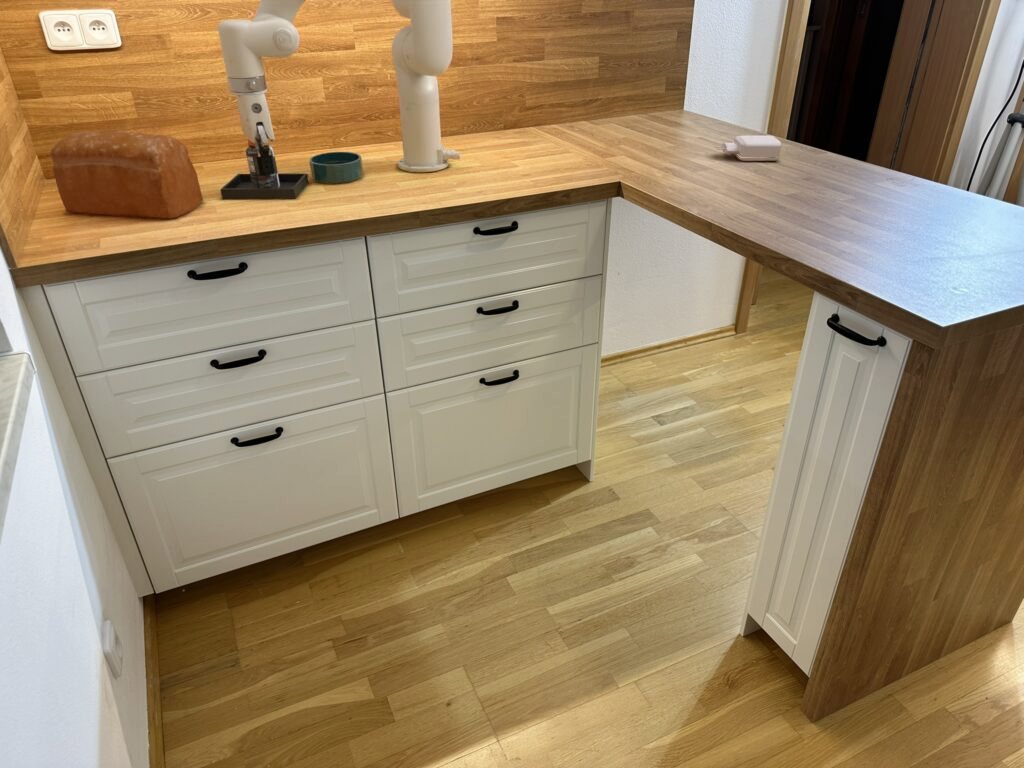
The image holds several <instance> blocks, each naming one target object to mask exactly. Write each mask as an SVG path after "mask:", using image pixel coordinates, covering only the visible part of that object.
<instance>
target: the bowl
mask: <svg viewBox="0 0 1024 768" xmlns="http://www.w3.org/2000/svg"><path fill="white" fill-rule="evenodd" d="M308 161H309V168H310V175H311V179H312V180H314V181H315V182H318V183H323V184H331V185H332V184H333V185H335V184H346V183H351V182H353V181H354V182H355V181H356V180H359V179H360V178H362V177H364V168H363V158H362V155H361V154H359V153H357V152H351V151H329V152H323V153H319V154H315V155H313V156H311V157H310V158H309V159H308Z"/></svg>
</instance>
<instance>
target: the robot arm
mask: <svg viewBox="0 0 1024 768" xmlns="http://www.w3.org/2000/svg"><path fill="white" fill-rule="evenodd" d="M306 1H307V0H260V2H259V5H258V7H257V9H256V11H255V14H254V15H253V19H252V20H250V19H246V18H245V19H243V18H236V19H235V18H233V19H225V20H222V21H220V22H219V23H218V26H217V30H218V38H219V42H220V48H221V52H222V57H223V62H224V67H225V72H226V73H225V74H226V77H227V83H228V87H229V93H230V94H231V95H232V96H233V95H234V96H235V99H236V104H237V109H238V115H239V116H238V117H239V121H240V125H241V130H242V133H243V136H244V137H245V138H246V139H247V140H248V139H249V140H250V141H251V142H252V143H254V144H255V148H256V152H257V156H258V157H256V158H257V164H258V169H259V174H260V175H261V176H262V175H269V174H274V173H275V172H274V166H273V160H272V155H271V151H270V147H269V146H270V143H269V141H270V142H274V141H275V133H274V129H273V128H274V127H273V124H272V123H273V122H272V119H271V113H270V109H269V106H268V102H267V97H266V94H265V93H267V92H268V85H267V79H266V75H265V68H264V62H263V58H274V59H275V58H276V59H284V58H289V57H291V56H293V55H294V54H295V53H296V52H297V51H298V49H299V47H300V44H301V39H300V38H301V37H300V34H299V32H298V29H297V27H296V26H295V25H294V24H293V22H294V20H295V18H296V16H297V14H298V12H299V10H300V9H301V8H302V6H303V5H304V3H305V2H306ZM451 2H452V1H451V0H392V5H393V8H394V10H395V11H396V12H397V14H399V15H400V16H401V17H404V18H406V19H409V20H410V25H406V26H404V27H402V28H400V29H399V30H398V31H397V32H396V33H395V35H394V36H393V39H392V44H391V57H392V62H393V63H392V64H393V67H394V71H395V77H396V82H397V83H396V84H397V92H398V93H397V94H398V106H399V117H400V128H401V131H400V132H401V143H402V153H403V154H402V155H403V157H402V158H400V159H399V160H398V161H397V167H398V169H400V170H401V171H405V172H411V173H430V172H431V173H432V172H437V171H441V170H444V169H446V168H447V167H448V166H449V160H454V161H455V160H458V161H459V160H460V158H461V153H460V150H459V151H458V150H455V149H450V150H448V149H446V148H445V146H444V145H445V144H442V132H441V114H440V94H439V93H440V92H439V84H438V83H439V82H438V79H437V78H438V76H440V75H442V74H444V73H445V72H446V71H447V70H448V69H449V67H450V65H451V63H452V60H453V53H454V39H453V38H454V37H453V20H452V19H453V18H452V3H451ZM256 139H260V140H261V141H258V142H257V140H256ZM247 145H248V147H250V145H249V143H248V142H247ZM258 145H262V146H260V147H259V146H258ZM259 148H260V150H259Z"/></svg>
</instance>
